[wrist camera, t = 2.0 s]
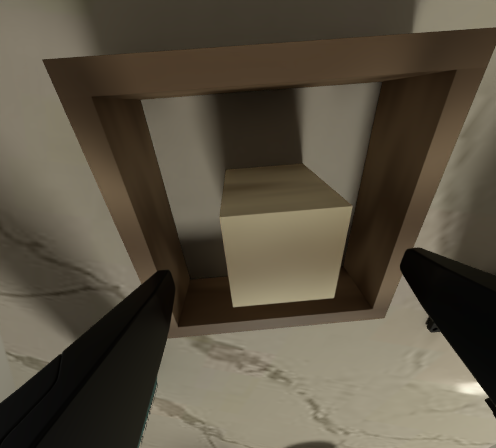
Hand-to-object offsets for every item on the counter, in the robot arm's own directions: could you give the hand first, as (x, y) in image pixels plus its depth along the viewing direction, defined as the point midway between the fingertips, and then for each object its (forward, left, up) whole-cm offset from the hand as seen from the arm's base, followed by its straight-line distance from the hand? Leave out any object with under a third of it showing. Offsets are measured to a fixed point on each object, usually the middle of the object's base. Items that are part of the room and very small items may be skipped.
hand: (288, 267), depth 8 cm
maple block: (0, 0, -6) cm, 6 cm away
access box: (0, 0, -6) cm, 6 cm away
